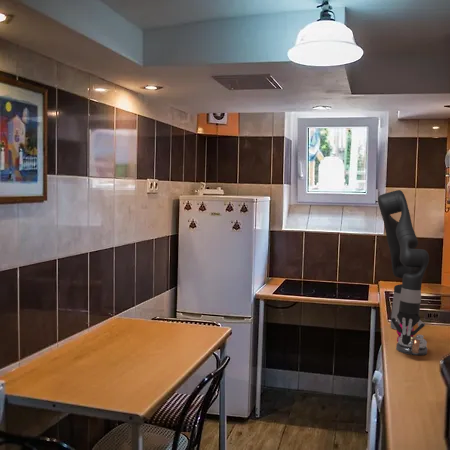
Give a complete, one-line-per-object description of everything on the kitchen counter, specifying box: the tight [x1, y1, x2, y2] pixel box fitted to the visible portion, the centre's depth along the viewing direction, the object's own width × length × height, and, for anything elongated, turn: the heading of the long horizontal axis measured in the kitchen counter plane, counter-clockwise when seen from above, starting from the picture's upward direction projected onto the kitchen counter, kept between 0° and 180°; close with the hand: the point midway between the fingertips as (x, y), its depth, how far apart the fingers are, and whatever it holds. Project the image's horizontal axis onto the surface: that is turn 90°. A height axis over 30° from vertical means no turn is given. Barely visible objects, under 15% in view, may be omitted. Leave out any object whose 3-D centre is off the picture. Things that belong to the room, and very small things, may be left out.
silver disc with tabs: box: [395, 342, 429, 357], centre depth 225 cm, size 12×12×2 cm
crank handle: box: [397, 333, 428, 356], centre depth 220 cm, size 20×11×6 cm, turn 166°
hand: (405, 344), depth 213 cm, fingers closed
